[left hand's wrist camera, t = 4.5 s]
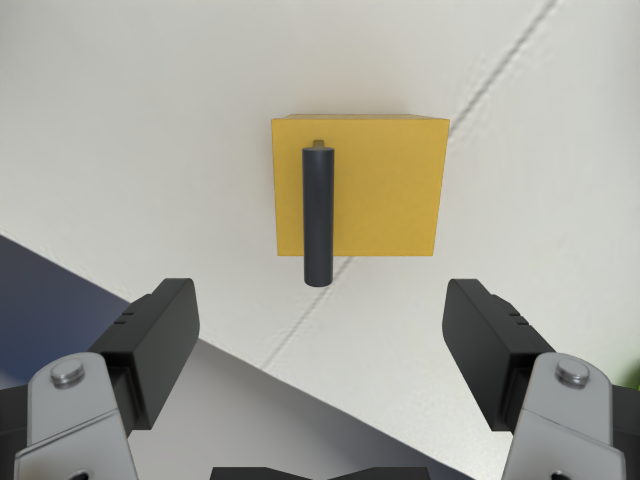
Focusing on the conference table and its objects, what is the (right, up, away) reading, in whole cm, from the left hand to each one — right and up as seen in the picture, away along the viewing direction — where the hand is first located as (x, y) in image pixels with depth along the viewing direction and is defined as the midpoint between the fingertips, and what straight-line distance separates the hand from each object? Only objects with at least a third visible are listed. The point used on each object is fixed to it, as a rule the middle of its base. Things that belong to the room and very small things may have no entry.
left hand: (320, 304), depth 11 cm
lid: (+3, +6, +15) cm, 17 cm away
